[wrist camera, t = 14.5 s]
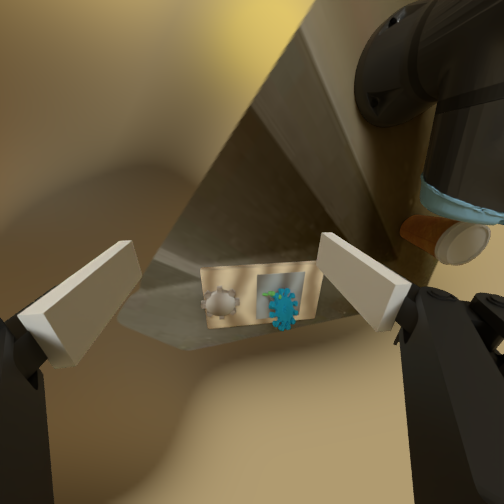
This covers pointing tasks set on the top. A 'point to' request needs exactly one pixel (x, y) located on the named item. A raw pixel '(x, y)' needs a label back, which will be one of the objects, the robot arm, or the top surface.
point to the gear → (282, 308)
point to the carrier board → (257, 291)
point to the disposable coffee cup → (446, 238)
